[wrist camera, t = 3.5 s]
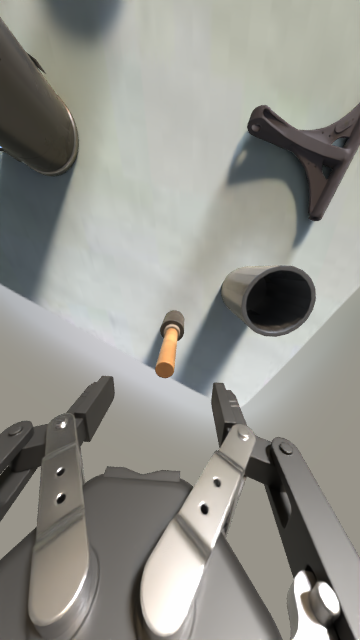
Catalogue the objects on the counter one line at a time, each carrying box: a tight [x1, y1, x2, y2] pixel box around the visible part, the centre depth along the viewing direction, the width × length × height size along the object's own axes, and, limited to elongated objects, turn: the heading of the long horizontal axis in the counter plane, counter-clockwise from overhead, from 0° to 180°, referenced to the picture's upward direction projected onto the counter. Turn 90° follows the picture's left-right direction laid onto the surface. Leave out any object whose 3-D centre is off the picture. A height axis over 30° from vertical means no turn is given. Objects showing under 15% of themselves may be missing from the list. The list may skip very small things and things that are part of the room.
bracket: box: [247, 103, 360, 221], centre depth 22 cm, size 14×15×3 cm
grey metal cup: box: [221, 265, 316, 337], centre depth 24 cm, size 8×8×11 cm
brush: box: [155, 310, 184, 378], centre depth 23 cm, size 4×4×16 cm
